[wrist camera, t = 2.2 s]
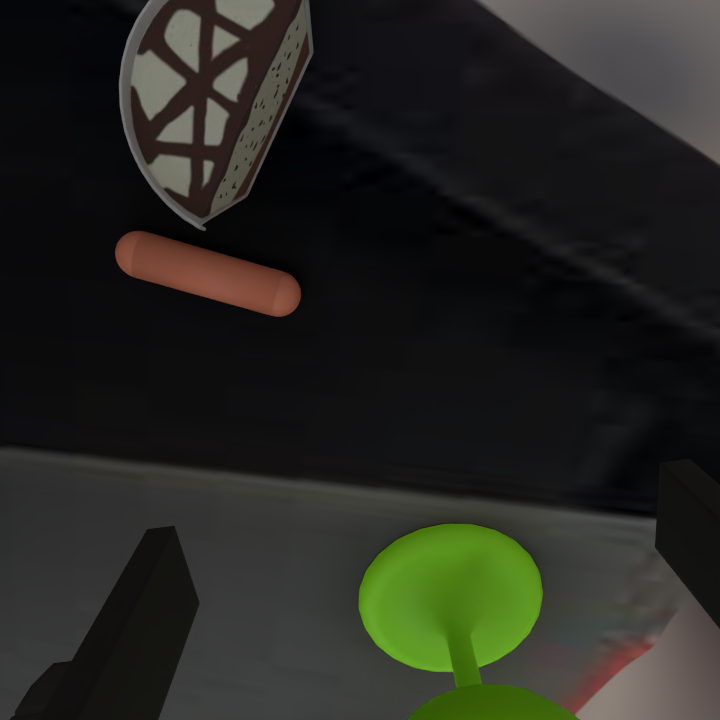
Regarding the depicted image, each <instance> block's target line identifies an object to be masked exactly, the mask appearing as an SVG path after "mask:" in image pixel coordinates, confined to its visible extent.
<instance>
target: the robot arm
mask: <svg viewBox="0 0 720 720" xmlns="http://www.w3.org/2000/svg"><path fill="white" fill-rule="evenodd" d="M655 548H656V549H657V550H658V552H659V553H660V554H661V555H662V557H663V558H664V559H665V560H666V562H667V563H668V564H669V565H670V567H671V568H672V569H673V571H674V572H675V573H676V574H677V576H678V577H679V578H680V579H681V581H682V582H683V583H684V584H685V586H686V587H687V588H688V589H689V591H690V592H691V593H692V594H693V596H694V597H695V598H696V599H697V601H698V602H699V603H700V604H701V606H702V607H703V608H704V610H705V611H706V612H707V613H708V614H709V616H710V617H711V618H712V620H713V621H714V622H715V623H716V625H717V626H718V627H719V628H720V485H719V484H718V483H717V482H715V481H714V480H713V479H712V478H711V477H710V476H708V475H707V474H706V473H705V472H704V471H703V470H702V469H700V468H699V467H698V466H697V465H696V464H695V463H693V462H692V461H691V460H690V459H686V460H679V461H671V462H663V463H660V472H659V489H658V506H657V523H656V540H655ZM199 604H200V603H199V600H198V597H197V594H196V591H195V588H194V585H193V582H192V579H191V576H190V572H189V569H188V566H187V563H186V560H185V557H184V554H183V551H182V548H181V545H180V542H179V538H178V535H177V532H176V529H175V526H169V527H162V528H154V529H147V531H146V532H145V534H144V536H143V538H142V539H141V541H140V543H139V545H138V546H137V548H136V550H135V551H134V553H133V555H132V557H131V558H130V560H129V562H128V564H127V565H126V567H125V569H124V571H123V572H122V574H121V576H120V578H119V579H118V581H117V583H116V585H115V586H114V588H113V590H112V592H111V593H110V595H109V597H108V599H107V600H106V602H105V604H104V605H103V607H102V609H101V611H100V612H99V614H98V616H97V618H96V619H95V621H94V623H93V625H92V626H91V628H90V630H89V632H88V633H87V635H86V637H85V639H84V640H83V642H82V644H81V646H80V647H79V649H78V651H77V653H76V654H75V656H74V658H73V660H72V661H68V662H60V663H53V664H52V665H51V666H50V667H49V668H48V669H47V670H46V671H45V672H44V673H43V674H42V675H41V676H40V677H39V678H38V679H37V680H36V682H35V683H34V684H33V685H32V686H31V687H30V688H29V690H28V692H27V693H26V695H25V696H24V698H23V700H22V701H21V703H20V704H19V706H18V708H17V709H16V711H15V716H12V717H11V719H10V720H158V719H159V716H160V713H161V710H162V707H163V705H164V702H165V699H166V696H167V693H168V691H169V688H170V685H171V682H172V679H173V677H174V674H175V671H176V668H177V665H178V662H179V660H180V657H181V654H182V651H183V648H184V646H185V643H186V640H187V637H188V634H189V632H190V629H191V626H192V623H193V620H194V618H195V615H196V612H197V609H198V606H199Z"/></svg>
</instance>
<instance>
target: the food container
mask: <svg viewBox="0 0 720 720" xmlns="http://www.w3.org/2000/svg"><path fill="white" fill-rule="evenodd" d="M312 54H313V42H312V30H311V19H310V7H309V0H149V1H148V3H147V4H146V6H145V7H144V9H143V10H142V12H141V13H140V15H139V16H138V18H137V19H136V22H135V24H134V26H133V28H132V31H131V33H130V35H129V37H128V39H127V43H126V47H125V51H124V54H123V58H122V62H121V71H120V81H119V95H120V110H121V116H122V121H123V127H124V131H125V134H126V137H127V140H128V143H129V146H130V149H131V152H132V154H133V156H134V158H135V160H136V162H137V164H138V166H139V168H140V170H141V172H142V174H143V175H144V177H145V178H146V180H147V181H148V183H149V184H150V186H151V187H152V189H153V190H154V191H155V192H156V193H157V194H158V195H159V197H160V198H161V199H162V200H163V201H164V202H165V203H166V204H167V205H168V206H169V207H170V208H171V209H172V210H173V211H175V212H176V213H177V214H178V215H179V216H180V217H182V218H183V219H184V220H186V221H187V222H189V223H191V224H192V225H194V226H195V227H197V228H198V229H200V230H203V231H205V230H206V228H205V227H203V226H202V224H203V223H205V222H207V221H208V220H210V219H212V218H213V217H215V216H217V215H218V214H220V213H221V212H223V211H225V210H226V209H228V208H230V207H231V206H233V205H235V204H236V203H238V202H239V201H241V200H243V199H244V198H246V197H247V196H248V194H249V192H250V190H251V188H252V185H253V183H254V181H255V179H256V177H257V174H258V172H259V170H260V168H261V166H262V164H263V161H264V159H265V157H266V155H267V153H268V150H269V148H270V146H271V144H272V142H273V140H274V137H275V135H276V133H277V131H278V129H279V126H280V124H281V122H282V120H283V118H284V116H285V113H286V111H287V109H288V107H289V105H290V102H291V100H292V98H293V96H294V94H295V92H296V89H297V87H298V85H299V83H300V81H301V78H302V76H303V74H304V72H305V70H306V68H307V65H308V63H309V61H310V59H311V57H312Z"/></svg>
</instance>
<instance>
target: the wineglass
mask: <svg viewBox="0 0 720 720" xmlns="http://www.w3.org/2000/svg"><path fill="white" fill-rule="evenodd" d="M542 597H543V590H542V583H541V577H540V572H539V570H538V568H537V566H536V565H535V563H534V561H533V559H532V557H531V555H530V554H529V553H528V552H527V551H526V550H524V549H523V548H522V547H521V546H520V545H519V544H518V543H517V542H516V541H515V540H513V539H511V538H509V537H507V536H506V535H504V534H502V533H500V532H498V531H496V530H494V529H489V528H485V527H481V526H477V525H473V524H441V525H436V526H432V527H427V528H422V529H419V530H417V531H414V532H412V533H410V534H408V535H405V536H403V537H401V538H399V539H397V540H396V541H394V542H393V543H392V544H391V545H389V546H388V547H387V548H385V549H384V550H383V551H381V552H380V553H379V554H378V555H377V557H376V558H375V559H374V561H373V562H372V563H371V565H370V566H369V567H368V569H367V570H366V572H365V575H364V577H363V580H362V583H361V586H360V588H359V611H360V614H361V618H362V621H363V624H364V627H365V629H366V630H367V632H368V633H369V635H370V636H371V637H372V639H373V640H374V642H375V643H376V644H377V646H379V647H380V648H381V649H382V650H384V651H385V652H386V653H387V654H389V655H390V656H391V657H392V658H394V659H396V660H398V661H400V662H402V663H405V664H407V665H409V666H411V667H414V668H418V669H423V670H428V671H433V672H453V674H454V679H455V684H456V689H454V690H452V691H449V692H446V693H444V694H441V695H439V696H436V697H434V698H433V699H431V700H430V701H428V702H427V703H425V704H424V705H422V706H421V707H419V708H418V709H416V710H415V712H414V713H413V714H412V715H411V716H410V717H409V718H408V719H407V720H579V719H578V718H577V717H576V716H575V715H573V714H572V713H571V712H569V711H568V710H566V709H564V708H562V707H561V706H559V705H557V704H555V703H554V702H552V701H550V700H548V699H547V698H545V697H543V696H541V695H538V694H536V693H534V692H532V691H530V690H528V689H524V688H519V687H514V686H510V685H505V684H482V681H481V677H480V673H479V669H478V668H479V667H481V666H484V665H486V664H489V663H491V662H494V661H496V660H498V659H500V658H501V657H503V656H504V655H506V654H507V653H509V652H510V651H512V650H513V649H515V648H516V647H517V646H518V645H519V644H520V643H521V642H522V640H523V639H524V638H525V637H526V636H527V635H528V634H529V633H530V631H531V629H532V627H533V625H534V623H535V622H536V620H537V618H538V616H539V613H540V607H541V602H542Z"/></svg>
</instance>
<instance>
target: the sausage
mask: <svg viewBox="0 0 720 720" xmlns="http://www.w3.org/2000/svg"><path fill="white" fill-rule="evenodd" d="M115 255H116V260H117V262H118V265H119V266H120V267H121V269H122V270H123V271H124V272H125V273H127V274H128V275H130V276H133V277H135V278H139V279H142V280H146V281H149V282H153V283H157V284H160V285H164V286H167V287H171V288H174V289H178V290H182V291H185V292H189V293H192V294H196V295H199V296H203V297H207V298H210V299H214V300H217V301H221V302H224V303H228V304H232V305H235V306H239V307H242V308H246V309H250V310H253V311H257V312H260V313H264V314H267V315H271V316H276V317H279V316H285V315H288V314H290V313H291V312H293V311H294V310H295V309H296V308H297V306H298V304H299V302H300V298H301V290H300V286H299V284H298V282H297V281H296V279H295V278H294V277H293V276H291V275H290V274H288V273H286V272H283V271H280V270H276V269H273V268H269V267H266V266H262V265H259V264H255V263H252V262H249V261H245V260H242V259H238V258H235V257H231V256H228V255H224V254H221V253H218V252H214V251H211V250H207V249H204V248H200V247H197V246H193V245H190V244H186V243H183V242H180V241H176V240H173V239H169V238H166V237H162V236H159V235H155V234H152V233H148V232H144V231H133V232H130V233H128V234H126V235H124V236H123V237H122V238H121V239H120V240H119V242H118V243H117V246H116V250H115Z"/></svg>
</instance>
